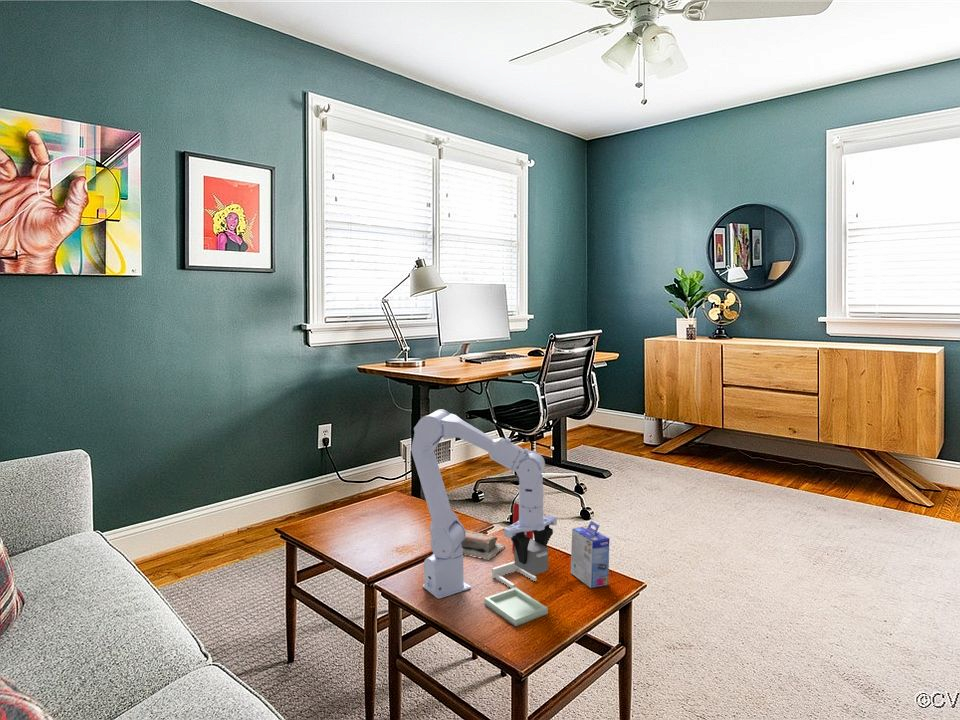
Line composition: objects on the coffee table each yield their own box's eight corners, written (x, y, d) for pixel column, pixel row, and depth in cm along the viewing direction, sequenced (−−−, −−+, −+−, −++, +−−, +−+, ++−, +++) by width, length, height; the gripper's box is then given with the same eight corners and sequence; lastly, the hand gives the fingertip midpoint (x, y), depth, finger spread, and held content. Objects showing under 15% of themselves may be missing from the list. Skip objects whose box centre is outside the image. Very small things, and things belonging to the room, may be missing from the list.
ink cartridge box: (610, 585, 151) (610, 529, 150) (591, 589, 149) (592, 532, 147) (588, 569, 160) (588, 516, 159) (570, 573, 158) (570, 519, 156)
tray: (515, 626, 132) (515, 619, 132) (484, 604, 142) (484, 597, 142) (547, 613, 138) (547, 607, 137) (515, 593, 147) (515, 587, 147)
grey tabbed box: (535, 576, 140) (535, 553, 139) (514, 564, 146) (514, 542, 146) (550, 571, 142) (550, 548, 142) (529, 559, 149) (529, 538, 148)
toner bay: (510, 589, 149) (510, 579, 149) (492, 577, 156) (491, 568, 156) (537, 580, 154) (537, 570, 154) (518, 569, 161) (518, 559, 160)
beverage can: (521, 545, 176) (521, 495, 174) (538, 552, 171) (538, 500, 170) (507, 551, 172) (507, 500, 170) (524, 558, 167) (524, 505, 166)
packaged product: (434, 533, 174) (452, 522, 183) (434, 549, 175) (452, 537, 184) (489, 545, 166) (505, 532, 174) (489, 562, 166) (505, 549, 175)
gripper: (517, 515, 136) (517, 573, 137) (565, 502, 144) (565, 557, 145) (498, 506, 141) (498, 562, 143) (546, 495, 150) (545, 548, 151)
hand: (531, 559), depth 144 cm, fingers closed on grey tabbed box, 5 cm apart
